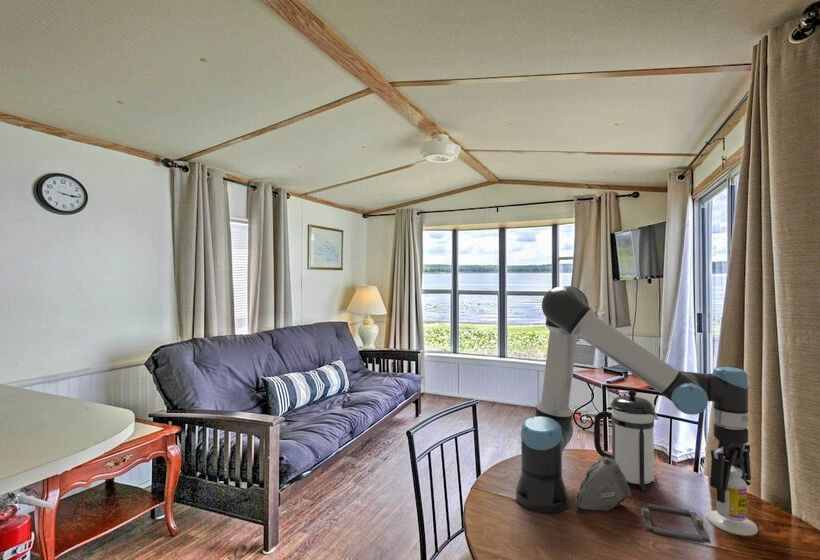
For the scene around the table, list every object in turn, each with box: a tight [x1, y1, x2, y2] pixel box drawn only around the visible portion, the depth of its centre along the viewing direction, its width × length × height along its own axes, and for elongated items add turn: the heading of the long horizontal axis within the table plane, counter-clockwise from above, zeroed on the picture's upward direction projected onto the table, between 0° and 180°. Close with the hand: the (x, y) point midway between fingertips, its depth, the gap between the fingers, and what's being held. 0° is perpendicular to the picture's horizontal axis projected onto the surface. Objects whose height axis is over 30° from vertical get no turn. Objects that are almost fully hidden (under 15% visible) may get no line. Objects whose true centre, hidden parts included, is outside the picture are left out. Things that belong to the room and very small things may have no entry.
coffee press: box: [593, 389, 660, 493], centre depth 139 cm, size 17×16×30 cm
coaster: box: [706, 509, 759, 537], centre depth 114 cm, size 11×11×1 cm
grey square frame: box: [638, 502, 711, 543], centre depth 115 cm, size 14×14×2 cm
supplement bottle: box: [715, 466, 748, 521], centre depth 114 cm, size 7×7×13 cm
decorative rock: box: [576, 456, 632, 512], centre depth 122 cm, size 16×7×15 cm, turn 93°
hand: (731, 509), depth 114 cm, fingers closed on supplement bottle, 7 cm apart
